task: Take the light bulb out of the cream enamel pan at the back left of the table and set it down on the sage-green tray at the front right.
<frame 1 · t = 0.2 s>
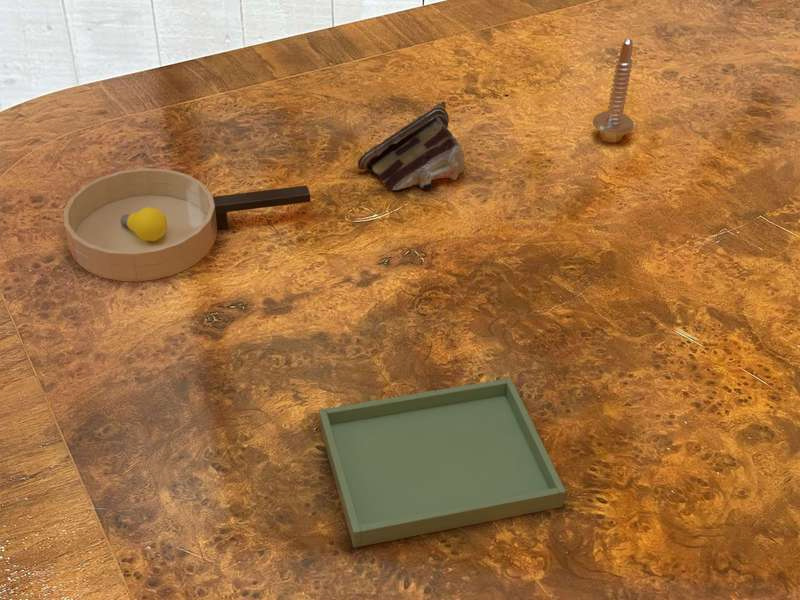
light bulb: (143, 235, 111), resting in pan
striped layered wedge: (417, 176, 121), on the table
screw: (610, 138, 129), on the table
pan handle: (263, 220, 114), on the table
pan: (143, 236, 111), on the table
tray: (437, 464, 88), on the table
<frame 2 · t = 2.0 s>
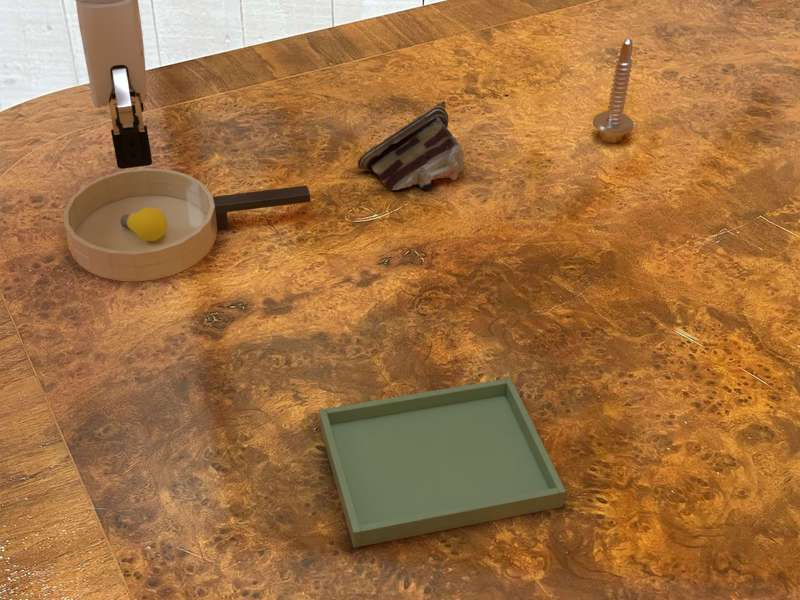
hand: (131, 138, 104), 12 cm above the table, tool pointing down, fingers open, 9 cm apart
nothing on the table moved.
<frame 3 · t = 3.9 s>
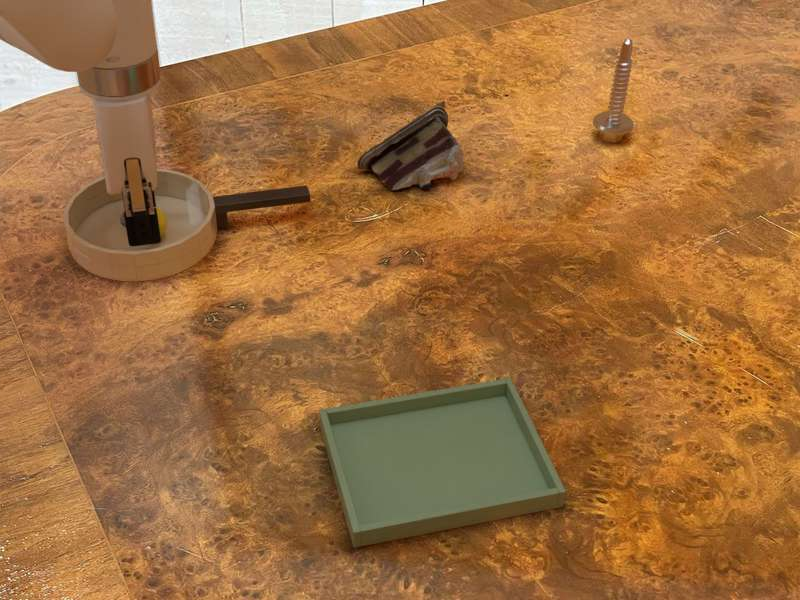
hand: (142, 226, 110), 1 cm above the table, tool pointing down, fingers closed on light bulb, 4 cm apart
light bulb: (143, 234, 111), resting in pan, touching gripper
everything else where it was.
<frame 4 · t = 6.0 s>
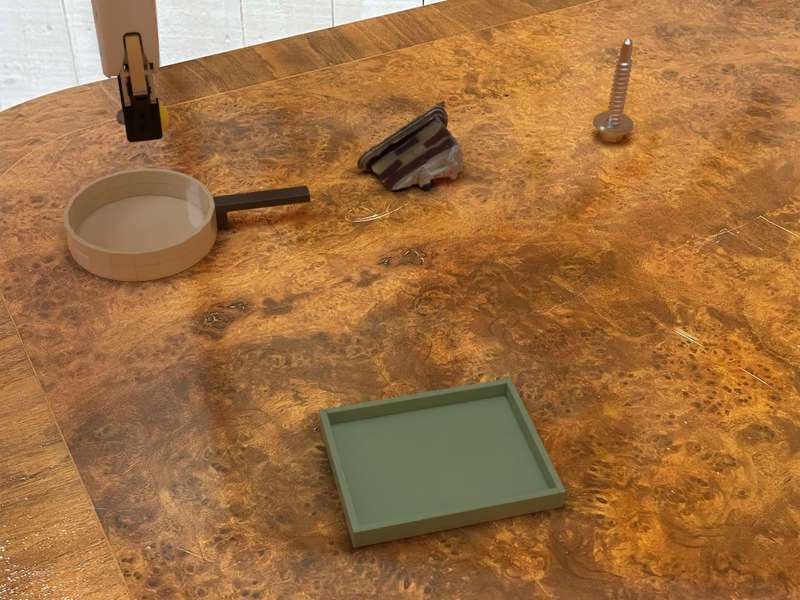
hand: (142, 122, 99), 15 cm above the table, tool pointing down, fingers closed on light bulb, 4 cm apart
light bulb: (142, 132, 100), point 14 cm above the table, touching gripper
everything else where it was.
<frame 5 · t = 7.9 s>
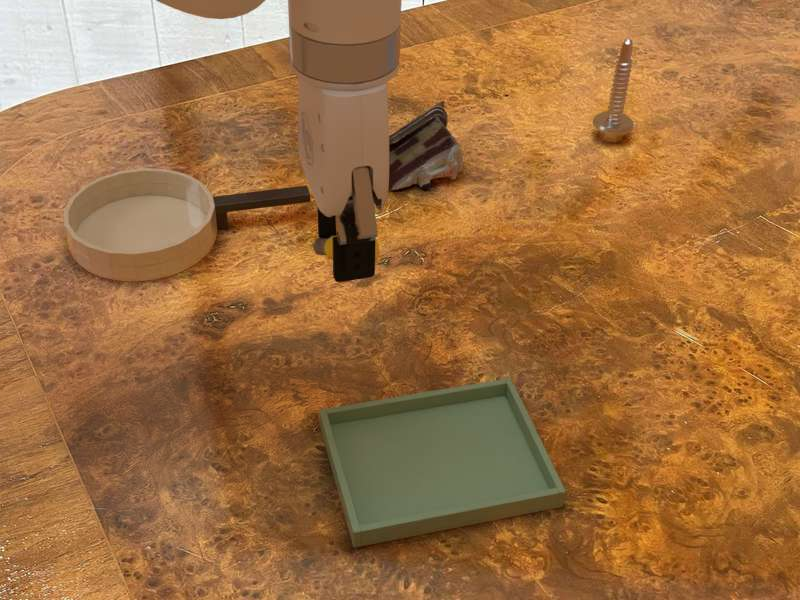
hand: (345, 255, 84), 15 cm above the table, tool pointing down, fingers closed on light bulb, 4 cm apart
light bulb: (344, 264, 85), point 14 cm above the table, touching gripper
everything else where it was.
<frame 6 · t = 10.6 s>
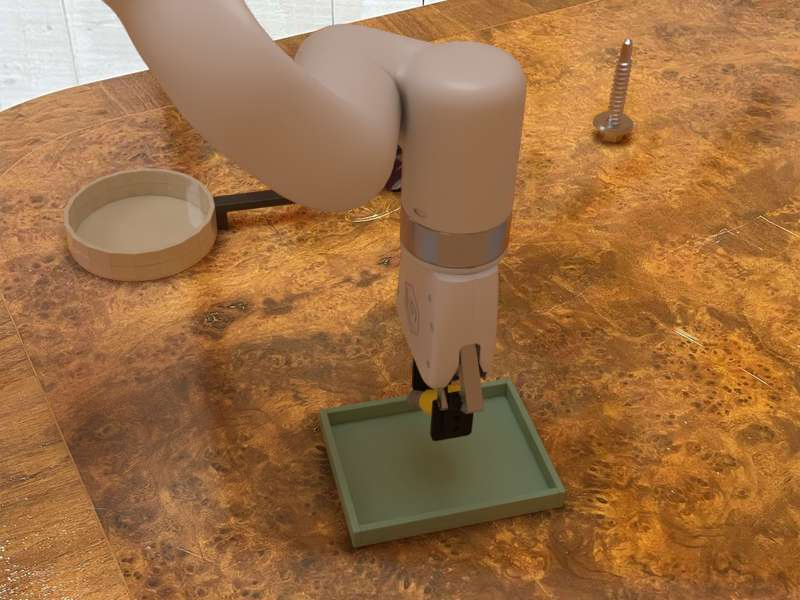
hand: (440, 409, 84), 7 cm above the table, tool pointing down, fingers closed on light bulb, 4 cm apart
light bulb: (438, 417, 85), point 5 cm above the table, touching gripper
everything else where it was.
when the fingers open (1 cm above the table, at t = 12.2 s): light bulb stays where it is, resting on tray.
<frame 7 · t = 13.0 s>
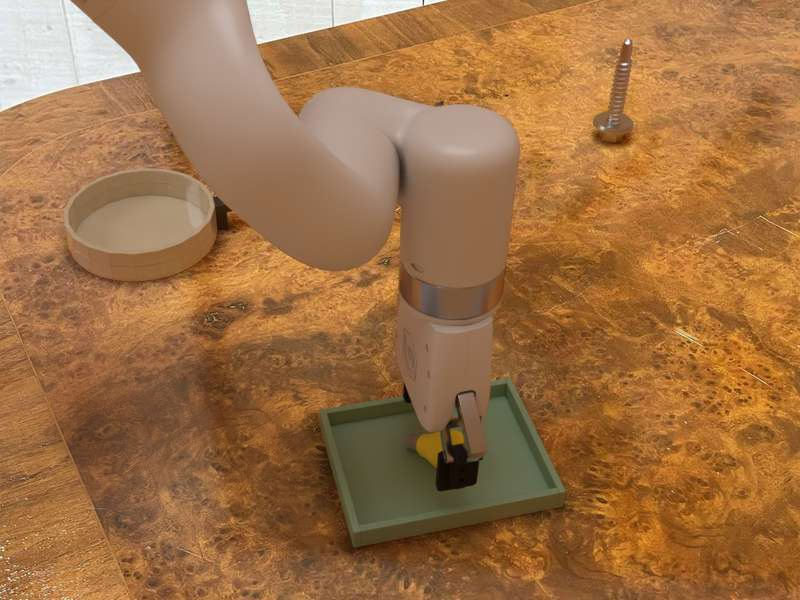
hand: (438, 440, 86), 3 cm above the table, tool pointing down, fingers open, 9 cm apart
light bulb: (434, 460, 88), resting on tray
everything else where it was.
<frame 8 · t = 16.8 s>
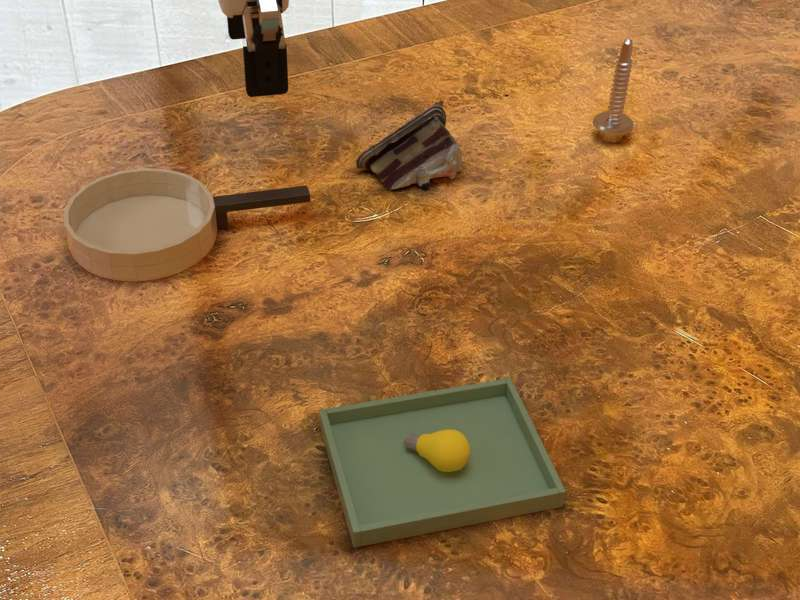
hand: (257, 64, 85), 26 cm above the table, tool pointing down, fingers open, 9 cm apart
nothing on the table moved.
at the end: light bulb inside the target area on the tray (0.3 cm from its centre), point 0.2 cm above the tray's base; the gripper is holding nothing; light bulb moved 42.2 cm from its start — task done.
